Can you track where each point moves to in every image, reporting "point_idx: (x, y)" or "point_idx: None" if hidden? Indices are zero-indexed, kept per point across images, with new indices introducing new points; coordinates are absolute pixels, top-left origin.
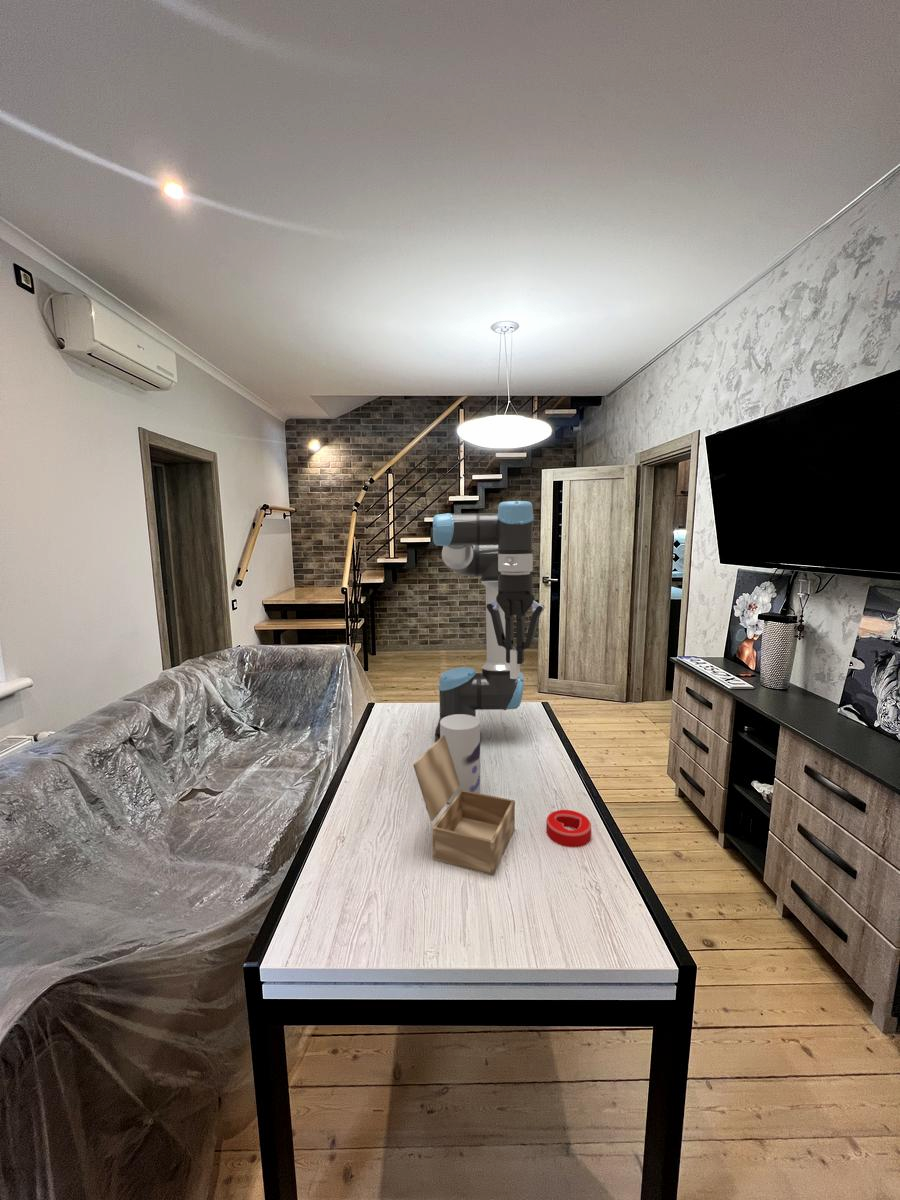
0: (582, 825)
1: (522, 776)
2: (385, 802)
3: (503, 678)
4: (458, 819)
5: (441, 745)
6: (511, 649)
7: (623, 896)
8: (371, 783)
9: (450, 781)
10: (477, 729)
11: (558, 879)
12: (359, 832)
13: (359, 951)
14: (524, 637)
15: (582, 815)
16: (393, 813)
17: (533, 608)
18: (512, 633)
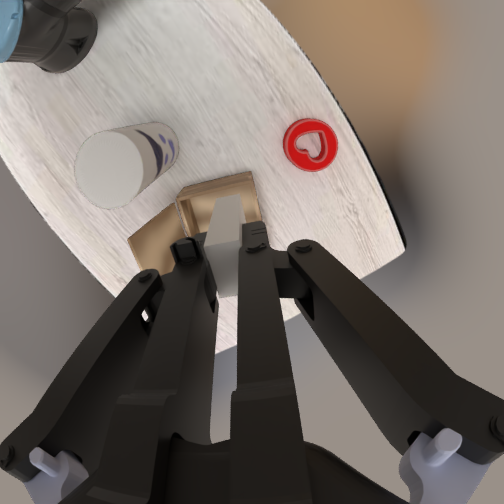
0: (329, 146)
1: (197, 53)
2: (99, 216)
3: None
4: (189, 204)
5: (142, 252)
6: (217, 283)
7: (374, 209)
8: (62, 199)
9: (173, 231)
10: (145, 163)
11: (322, 218)
12: (124, 266)
13: (228, 340)
14: (275, 278)
15: (323, 125)
16: (121, 226)
17: (416, 479)
18: (202, 324)
